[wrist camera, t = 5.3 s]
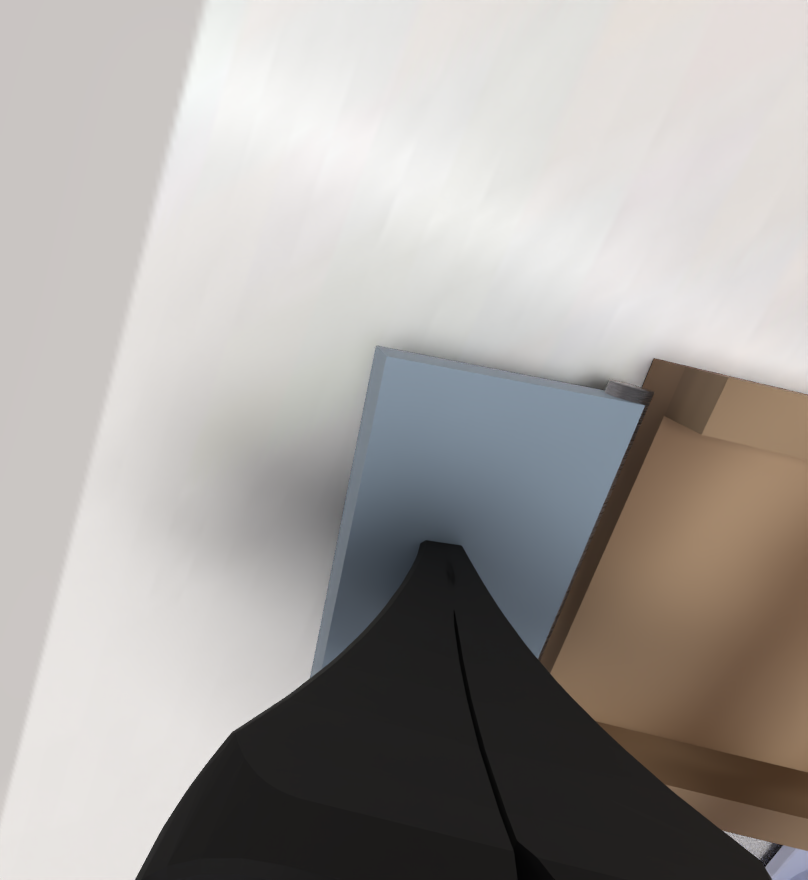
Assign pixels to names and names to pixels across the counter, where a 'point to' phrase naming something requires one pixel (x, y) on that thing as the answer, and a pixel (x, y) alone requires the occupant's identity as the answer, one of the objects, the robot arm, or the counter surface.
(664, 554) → the wooden tray
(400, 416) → the tailgate
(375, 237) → the counter surface
